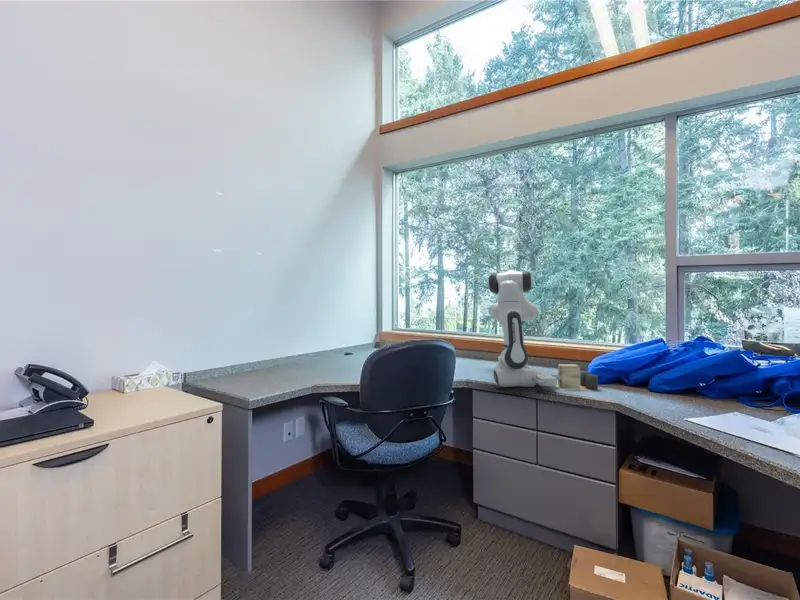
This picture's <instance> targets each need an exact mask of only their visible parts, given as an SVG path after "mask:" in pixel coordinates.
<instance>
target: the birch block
mask: <svg viewBox="0 0 800 600" xmlns="http://www.w3.org/2000/svg"><path fill="white" fill-rule="evenodd" d="M557 366H558V368H557V375H559V376H561V380H557V384H558V386H559V387H561V388H580V372H581V365H578V364H572V363H571V364H566V363H565V364H561V363H559V364H558V365H557Z"/></svg>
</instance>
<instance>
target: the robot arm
mask: <svg viewBox="0 0 800 600" xmlns="http://www.w3.org/2000/svg"><path fill="white" fill-rule="evenodd" d="M533 285H534V278H533V276H532V273H530V271H526V270H522V271H520V270H519V271H517V270H515V269H507V270H505V271H503V272H494V273H491V274H490V275H489V276H488V279H487V286H488V290H489V291H490V292H491V293H493V294H495V295H497V302H494V303H493V304H492V306H491V308H490V309H491V310H490V314H491V316H492V318H493V319H494V320H496V321H497V322H498V323H499V325H500V326H501V328H502V331H503V343H502V344H503V345H502V351H501V352H500V355H499V356H498V357H497V360H498V362H497V363H496V366H495V368H494V369H493V378H494V381H495V383H496V385H498V386H501V387H505V388H508V387H509V388H516V387H521V388H534V387H535V386H536V385H538V384H539V385H541V386H556V385H557V384H558V380H561V376H559V375H558V374H553V373H549V372H547V371H545V370H544V369H541V368H534V367H531V366H528V365H529V364H528V362H529V355H528V352H527V350H526V348H525V333H524V331H523V327H522V326H523V325H522V322H524V321H525V322H528V321H532V320H534V319H536V318H537V316H538V312H539V311H538V310H539V309H538V307H537V305H536V303H535V302H533V301H530V300H529V299H528V298H526V297H525V295H524V293H527V292H529V291H531V290H532V288H533ZM539 385H538V386H539Z"/></svg>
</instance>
